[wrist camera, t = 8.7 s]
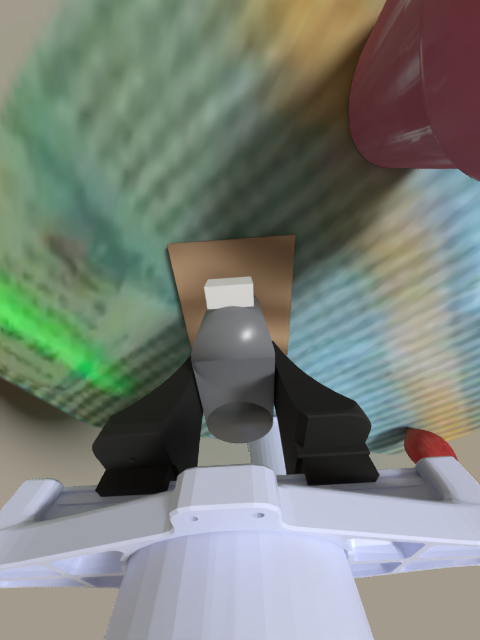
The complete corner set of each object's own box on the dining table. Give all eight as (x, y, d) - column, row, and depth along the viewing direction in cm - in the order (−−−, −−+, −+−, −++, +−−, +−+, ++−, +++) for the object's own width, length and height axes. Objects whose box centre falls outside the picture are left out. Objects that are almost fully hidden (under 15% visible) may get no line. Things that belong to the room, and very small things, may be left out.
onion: (421, 413, 31) (477, 470, 24) (431, 429, 33) (484, 485, 26) (387, 427, 32) (429, 484, 25) (398, 441, 35) (440, 498, 27)
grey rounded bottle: (262, 382, 16) (272, 441, 12) (218, 385, 16) (211, 444, 12) (261, 268, 12) (276, 295, 7) (199, 272, 12) (177, 302, 7)
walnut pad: (285, 351, 24) (287, 355, 23) (195, 357, 24) (194, 361, 24) (293, 234, 18) (295, 235, 17) (169, 243, 18) (167, 244, 17)
